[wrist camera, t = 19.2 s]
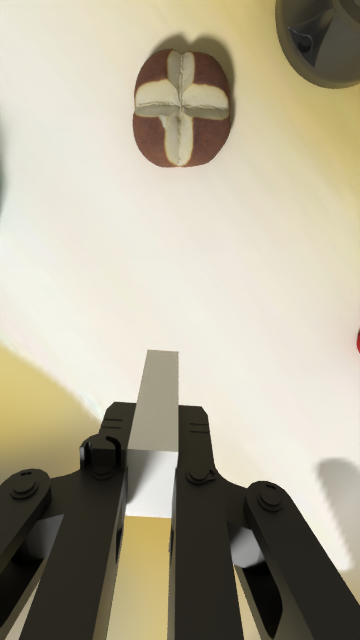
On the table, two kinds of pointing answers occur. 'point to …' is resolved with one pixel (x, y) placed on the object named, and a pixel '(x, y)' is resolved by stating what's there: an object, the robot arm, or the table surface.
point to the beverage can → (358, 343)
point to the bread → (181, 109)
